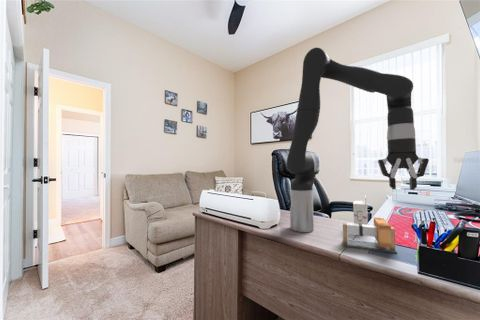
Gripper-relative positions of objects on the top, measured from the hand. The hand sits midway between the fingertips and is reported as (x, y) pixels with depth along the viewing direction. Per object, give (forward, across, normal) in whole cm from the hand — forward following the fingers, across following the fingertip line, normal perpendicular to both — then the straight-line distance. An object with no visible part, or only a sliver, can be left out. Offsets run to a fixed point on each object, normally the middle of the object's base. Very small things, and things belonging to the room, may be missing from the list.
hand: (402, 189), depth 70 cm
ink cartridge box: (+20, -11, +16) cm, 28 cm away
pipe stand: (+19, -11, -4) cm, 23 cm away
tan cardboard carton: (+17, -7, -4) cm, 19 cm away
